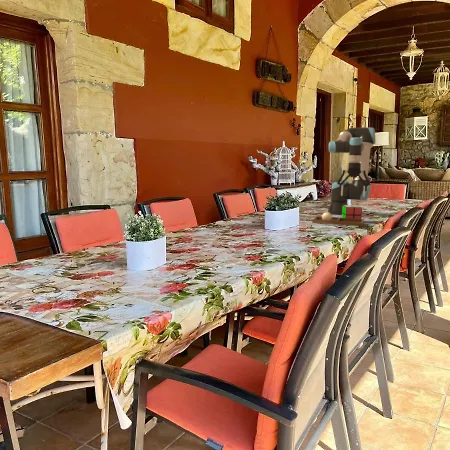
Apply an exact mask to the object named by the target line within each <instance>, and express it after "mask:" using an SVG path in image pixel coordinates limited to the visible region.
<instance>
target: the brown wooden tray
mask: <svg viewBox="0 0 450 450" xmlns="http://www.w3.org/2000/svg"><path fill="white" fill-rule="evenodd" d="M312 224H323V225H324V224H325V225H339V226H352V227H353V226H355V227H358V228H360V229H362V228H363V227H364V225H363V224H365V219H364V218H361V219H354V218H342V217H335V216H332V219H331V220H323V219H322V215H321V216H319V215H316V216H315V217H313V219H312Z"/></svg>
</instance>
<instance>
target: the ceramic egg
mask: <svg viewBox="0 0 450 450" xmlns="http://www.w3.org/2000/svg"><path fill="white" fill-rule="evenodd" d="M321 216H322V219H323V220H331V219H332V217H333V216H332V214H330V213H328V211H327V212H326V211H325V212H324V213H322V215H321Z"/></svg>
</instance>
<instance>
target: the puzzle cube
mask: <svg viewBox="0 0 450 450" xmlns="http://www.w3.org/2000/svg"><path fill="white" fill-rule="evenodd" d="M362 212H363V207H362V206H360V205H357V204H356V205H354V204H353V205H350V204H348V205H343V206H342V215H341V218H354V219H362V215H363V213H362Z"/></svg>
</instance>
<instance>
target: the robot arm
mask: <svg viewBox="0 0 450 450" xmlns="http://www.w3.org/2000/svg"><path fill="white" fill-rule="evenodd" d="M375 144H376V130H375V128H374V127H368V126H367V127H349V128H346V129H345V130H343V131H341V132H340V133H339V135H338V138H337V139H336V140H333V141H329V142H328V152H329V153H331V154H339V153H340V154H348V164H347V165H348V166H347V168H348V169H343V170H342V174H341V175H340V177H339V178H338V181H335V182H332V184H331V189H330V190H331V192H330V193H331V194H330V203H329V206H328V209H327V212H328V213H330V214H331V215H339V216H342V206H343V205H349V204H348V200H354V201H367V200H368V199H369V197H370V194H371V189H372V184H371V182H370V180H369V177H368V174H369V166H370V165H369V164H370V157H371V156H370V155H371V148H373V146H374V145H375ZM346 173H347V176H346V177H345V178H344V176H345V174H346ZM343 178H344V179H343ZM349 178H353V180H352V181H351V182H349V181H348V179H349Z"/></svg>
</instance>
